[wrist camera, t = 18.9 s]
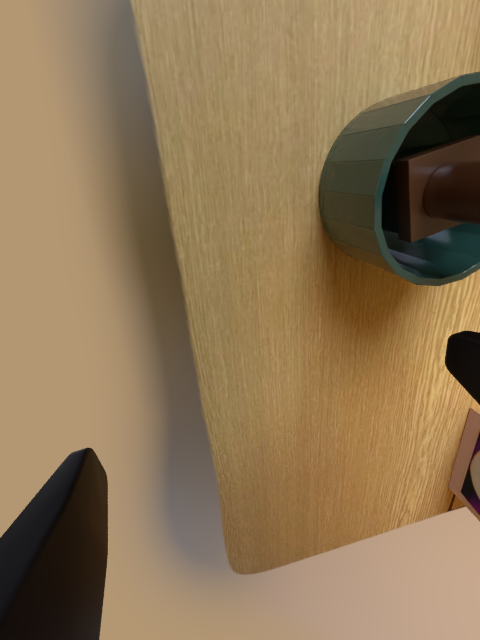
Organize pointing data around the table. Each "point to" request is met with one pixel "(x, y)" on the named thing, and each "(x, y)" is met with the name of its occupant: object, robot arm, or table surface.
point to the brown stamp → (432, 189)
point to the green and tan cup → (371, 174)
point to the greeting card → (468, 466)
